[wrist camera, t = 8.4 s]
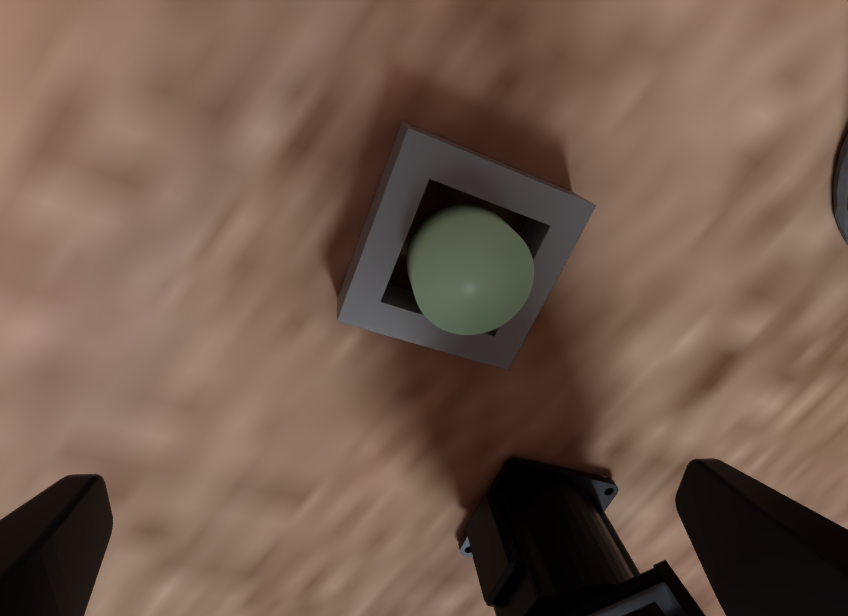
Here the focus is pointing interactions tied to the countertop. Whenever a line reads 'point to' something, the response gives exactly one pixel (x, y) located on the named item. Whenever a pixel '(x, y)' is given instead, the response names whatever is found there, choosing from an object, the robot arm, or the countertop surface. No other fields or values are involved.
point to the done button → (469, 270)
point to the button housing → (391, 220)
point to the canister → (841, 191)
